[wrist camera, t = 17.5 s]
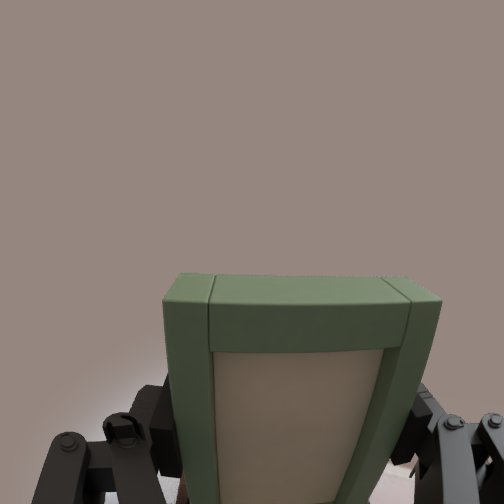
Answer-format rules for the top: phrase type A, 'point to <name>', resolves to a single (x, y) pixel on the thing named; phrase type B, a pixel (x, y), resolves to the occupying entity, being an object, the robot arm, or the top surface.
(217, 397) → the frame
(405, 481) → the top surface
